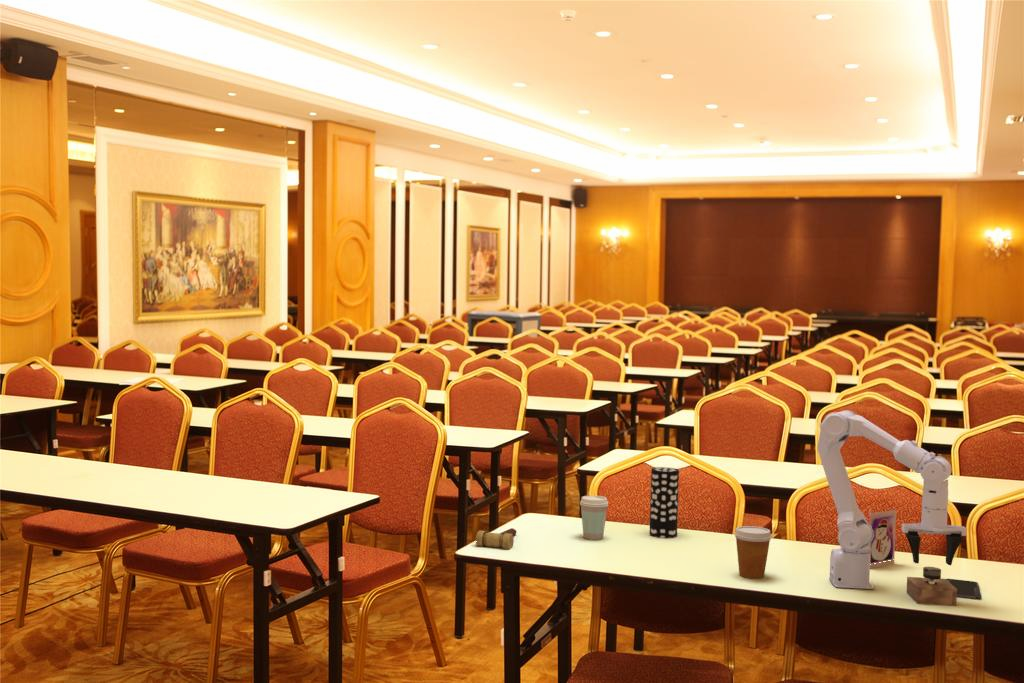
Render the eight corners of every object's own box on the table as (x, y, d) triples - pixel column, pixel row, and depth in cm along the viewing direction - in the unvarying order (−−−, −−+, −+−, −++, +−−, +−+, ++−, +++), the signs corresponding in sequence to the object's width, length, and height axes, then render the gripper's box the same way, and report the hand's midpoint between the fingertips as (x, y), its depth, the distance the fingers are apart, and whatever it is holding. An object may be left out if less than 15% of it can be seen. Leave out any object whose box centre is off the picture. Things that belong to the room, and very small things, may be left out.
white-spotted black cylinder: (676, 539, 302) (678, 472, 301) (648, 537, 304) (650, 471, 303) (677, 532, 310) (679, 468, 310) (650, 531, 312) (652, 466, 311)
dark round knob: (924, 600, 244) (926, 570, 243) (920, 595, 248) (921, 566, 247) (942, 601, 243) (943, 571, 243) (936, 596, 247) (938, 567, 247)
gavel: (500, 521, 307) (531, 525, 303) (499, 537, 307) (530, 540, 303) (475, 531, 287) (509, 535, 284) (475, 547, 287) (508, 551, 284)
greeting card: (870, 569, 272) (872, 514, 272) (847, 563, 278) (849, 509, 278) (896, 564, 278) (898, 510, 278) (873, 558, 285) (875, 505, 284)
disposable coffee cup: (744, 581, 257) (746, 534, 257) (726, 571, 266) (727, 526, 266) (777, 579, 260) (779, 533, 259) (758, 569, 269) (760, 525, 269)
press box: (917, 603, 241) (917, 586, 241) (906, 592, 250) (907, 576, 250) (956, 605, 240) (957, 588, 240) (944, 594, 249) (944, 578, 249)
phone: (946, 593, 248) (945, 578, 262) (945, 597, 249) (944, 582, 262) (981, 597, 246) (978, 581, 259) (981, 601, 246) (978, 586, 259)
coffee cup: (608, 541, 297) (609, 500, 296) (579, 540, 297) (580, 500, 297) (606, 534, 305) (607, 495, 305) (578, 534, 306) (579, 494, 305)
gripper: (908, 509, 241) (905, 565, 242) (971, 512, 240) (969, 569, 240) (900, 503, 248) (897, 558, 249) (961, 506, 247) (959, 561, 247)
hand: (932, 563), depth 245 cm, fingers open, 7 cm apart
